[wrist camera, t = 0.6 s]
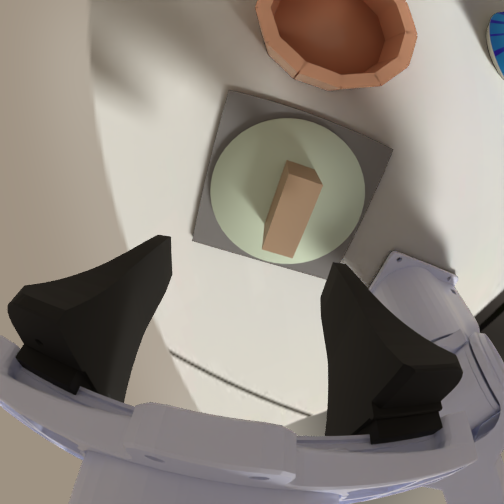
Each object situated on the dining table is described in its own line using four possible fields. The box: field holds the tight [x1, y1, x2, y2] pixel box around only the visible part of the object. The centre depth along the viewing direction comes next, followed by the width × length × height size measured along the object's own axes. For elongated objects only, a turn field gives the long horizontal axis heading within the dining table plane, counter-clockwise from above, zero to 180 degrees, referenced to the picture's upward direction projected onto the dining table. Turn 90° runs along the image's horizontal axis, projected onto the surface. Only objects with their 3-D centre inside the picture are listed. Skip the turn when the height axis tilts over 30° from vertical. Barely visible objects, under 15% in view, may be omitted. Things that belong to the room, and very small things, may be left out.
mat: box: [192, 90, 393, 280], centre depth 19 cm, size 12×12×1 cm
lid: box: [210, 118, 365, 264], centre depth 17 cm, size 11×11×4 cm
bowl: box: [255, 0, 417, 91], centre depth 11 cm, size 9×9×4 cm
